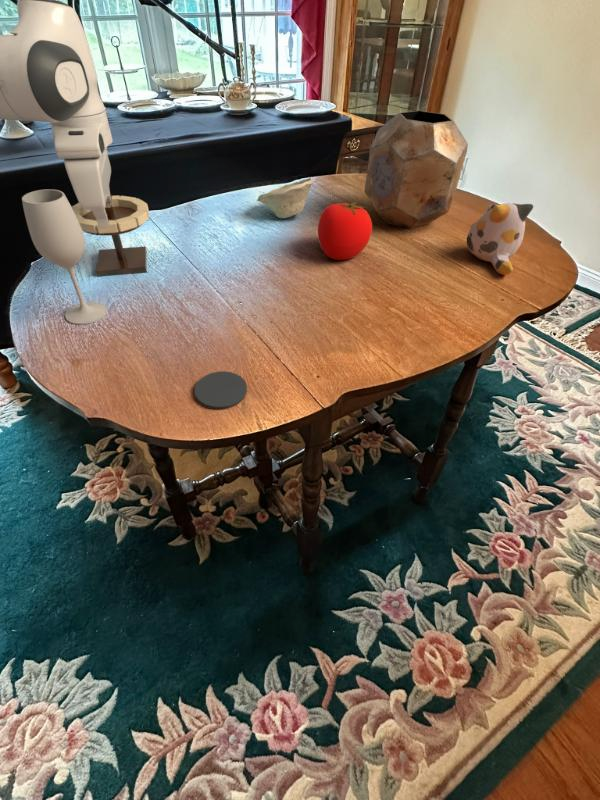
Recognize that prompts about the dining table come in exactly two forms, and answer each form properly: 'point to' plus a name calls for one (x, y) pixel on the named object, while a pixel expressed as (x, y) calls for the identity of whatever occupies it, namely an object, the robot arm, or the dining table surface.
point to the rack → (119, 249)
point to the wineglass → (60, 243)
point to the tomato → (344, 230)
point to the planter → (415, 168)
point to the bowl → (287, 198)
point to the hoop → (119, 224)
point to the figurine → (499, 234)
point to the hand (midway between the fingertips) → (106, 215)
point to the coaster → (220, 390)
